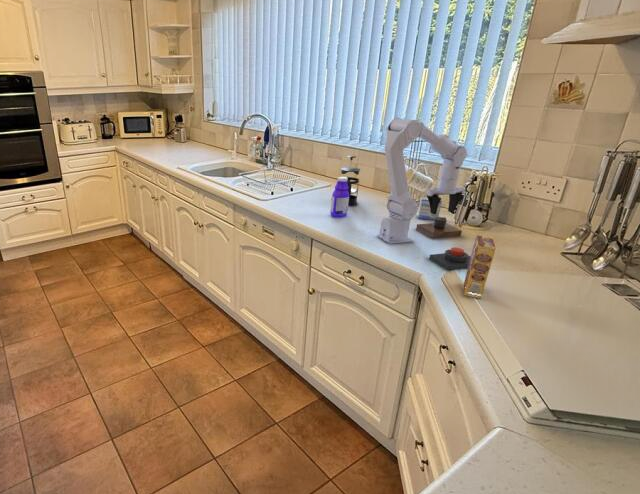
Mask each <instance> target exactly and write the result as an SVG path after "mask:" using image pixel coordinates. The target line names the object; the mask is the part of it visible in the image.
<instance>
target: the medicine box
mask: <svg viewBox="0 0 640 494" xmlns="http://www.w3.org/2000/svg"><path fill="white" fill-rule="evenodd" d="M419 198H420V200H419V205H418V209H417V214H416V215H417V219H420V220H428V221H429V220H430V221H434V220H435V217H440V211H441V208H442V203H443V201H442V199H441V200H440V202H439V205H438V208H437V212H436V214H432V213H431V212H430V204H429V200H428V198H427V197H423V196H421V197H419Z"/></svg>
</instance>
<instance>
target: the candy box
mask: <svg viewBox="0 0 640 494" xmlns="http://www.w3.org/2000/svg"><path fill="white" fill-rule="evenodd" d="M495 253H496V245H495V240H494V238H493V237H492V236H485V235H476V236H475V240H474V243H473V246H472V251H471V254H470V256H471V258H470V261H469V265H468V269H466V273H465V278H464V281H463V291H464V292H463V293H464V296H466V297H470V298H473V299H474V298H475V299H479V300H481V299H482V296H477V295H472V294H468V293H467V292H472V293H477V294H482V295H483V293H484V289H485V286H486V282H487V279H488V275H489V274H490V273H489V272H490V270H491V266H492V263H493V259H494V256H495ZM465 287H466V288H465ZM465 292H466V293H465Z"/></svg>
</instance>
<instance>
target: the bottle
mask: <svg viewBox="0 0 640 494" xmlns="http://www.w3.org/2000/svg"><path fill="white" fill-rule="evenodd" d="M347 177H348V176H338V177H337V181H336V185H334V190H333V192H332V194H331V203H330V212H329V213H330V216H331V217H333V218H336V219H337V218H339V219H340V218H345V217H347V215H348V208H349V206H348V202H349V192H348V189H349V187H348V185H347V180H348V178H347Z"/></svg>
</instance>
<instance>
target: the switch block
mask: <svg viewBox="0 0 640 494" xmlns="http://www.w3.org/2000/svg"><path fill="white" fill-rule="evenodd" d="M450 252H451V249H446V250H444V252H443V253H433V254H429V257H428V260H430V261H431V262H433V263H434V264H436V265H438V266H439V267H441V268H443V269H444V270H446V271H448V272H449V271H450V272H451V271H457V270H465V269H466V270H467V269H468V265H469V261H470V258H471V255H469V254H468V253H467V252H465V251H464V253H463V256H455V255H452V254H450Z"/></svg>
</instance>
